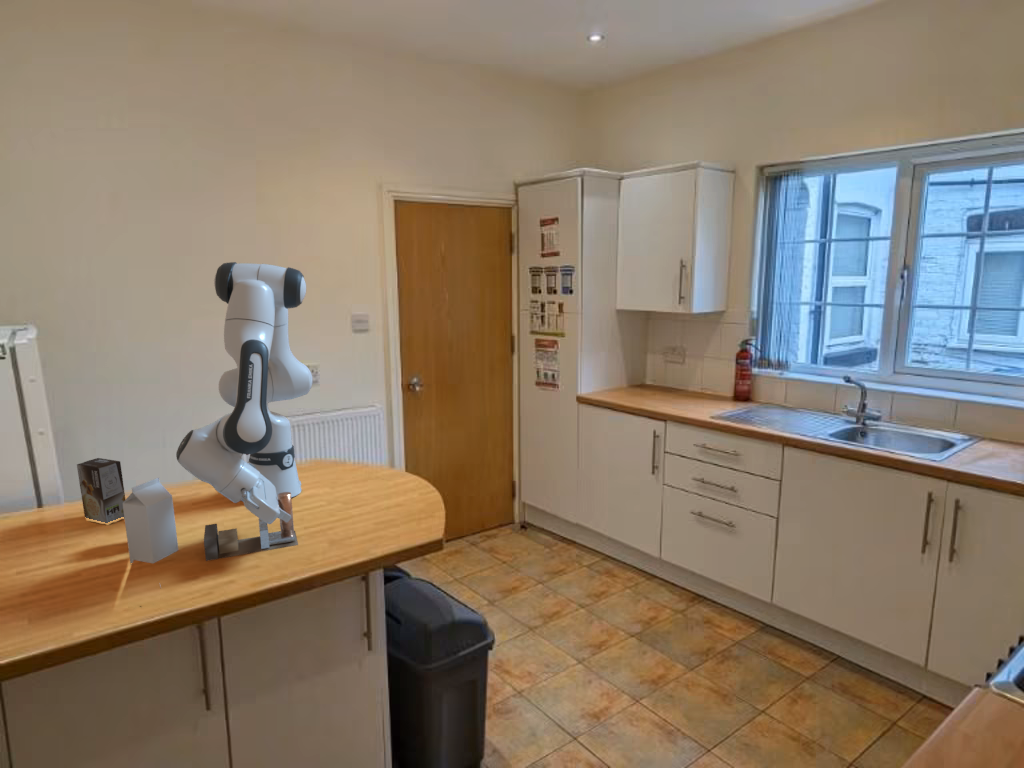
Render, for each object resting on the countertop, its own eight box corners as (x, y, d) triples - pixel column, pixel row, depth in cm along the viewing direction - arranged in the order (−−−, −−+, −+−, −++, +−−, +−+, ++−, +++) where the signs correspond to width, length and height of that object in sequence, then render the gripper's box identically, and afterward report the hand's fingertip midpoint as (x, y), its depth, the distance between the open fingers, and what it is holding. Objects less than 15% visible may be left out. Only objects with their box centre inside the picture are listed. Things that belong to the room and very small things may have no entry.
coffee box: (129, 517, 175) (122, 460, 172) (107, 526, 169) (99, 467, 166) (106, 512, 178) (98, 457, 175) (83, 521, 172) (75, 464, 169)
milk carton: (179, 556, 151) (170, 479, 148) (153, 569, 145) (144, 489, 141) (156, 551, 153) (147, 476, 150) (130, 565, 147) (119, 486, 143)
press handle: (261, 549, 150) (257, 503, 148) (260, 535, 157) (256, 492, 155) (295, 543, 153) (292, 498, 151) (293, 530, 160) (289, 488, 158)
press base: (206, 566, 146) (203, 540, 144) (208, 550, 154) (205, 525, 152) (298, 550, 153) (296, 525, 152) (295, 536, 161) (293, 511, 160)
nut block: (219, 553, 149) (218, 537, 148) (220, 546, 152) (218, 531, 152) (238, 550, 150) (236, 534, 149) (238, 543, 154) (236, 528, 153)
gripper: (252, 486, 141) (301, 521, 146) (249, 460, 159) (294, 492, 165) (231, 509, 140) (282, 543, 146) (232, 480, 158) (277, 511, 164)
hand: (288, 515), depth 155 cm, fingers closed on press handle, 3 cm apart
